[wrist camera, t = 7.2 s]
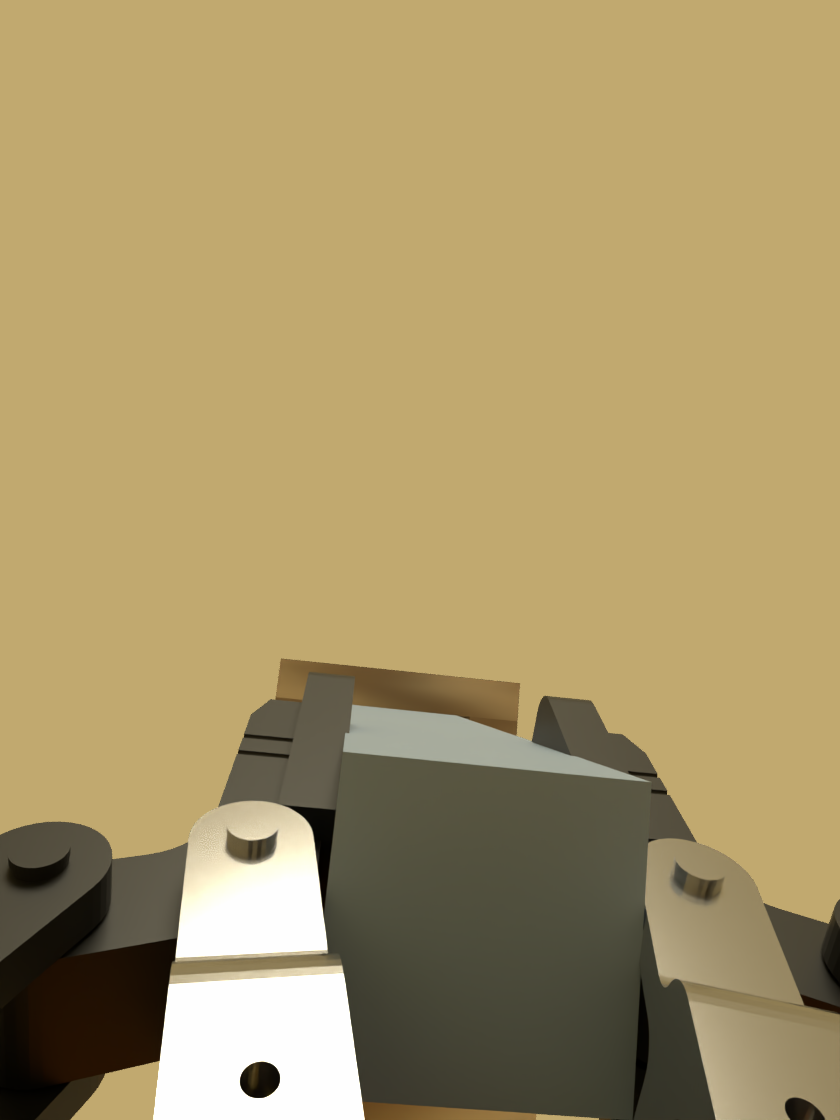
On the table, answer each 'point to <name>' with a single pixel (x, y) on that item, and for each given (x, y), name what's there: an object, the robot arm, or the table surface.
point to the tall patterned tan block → (429, 695)
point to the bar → (487, 917)
